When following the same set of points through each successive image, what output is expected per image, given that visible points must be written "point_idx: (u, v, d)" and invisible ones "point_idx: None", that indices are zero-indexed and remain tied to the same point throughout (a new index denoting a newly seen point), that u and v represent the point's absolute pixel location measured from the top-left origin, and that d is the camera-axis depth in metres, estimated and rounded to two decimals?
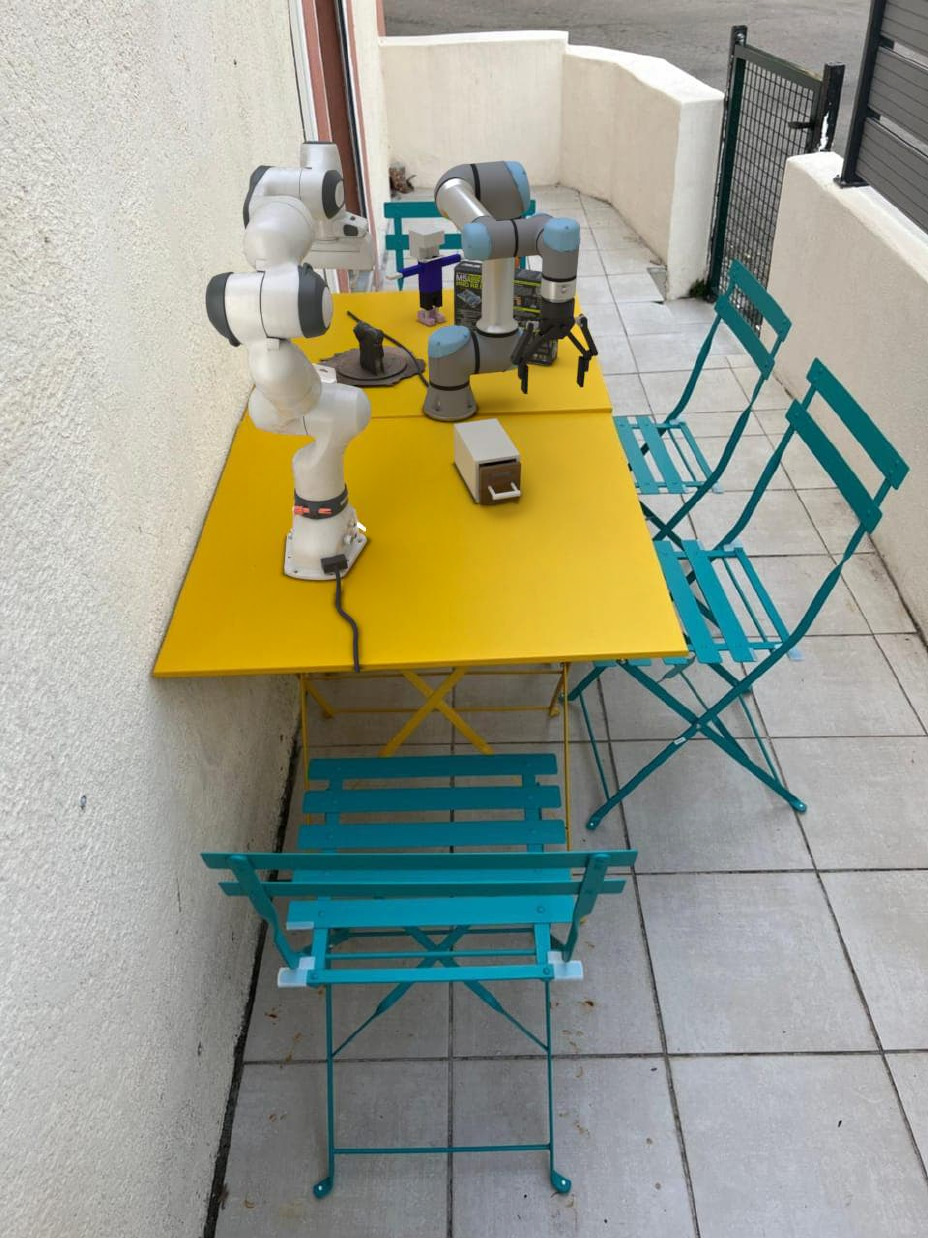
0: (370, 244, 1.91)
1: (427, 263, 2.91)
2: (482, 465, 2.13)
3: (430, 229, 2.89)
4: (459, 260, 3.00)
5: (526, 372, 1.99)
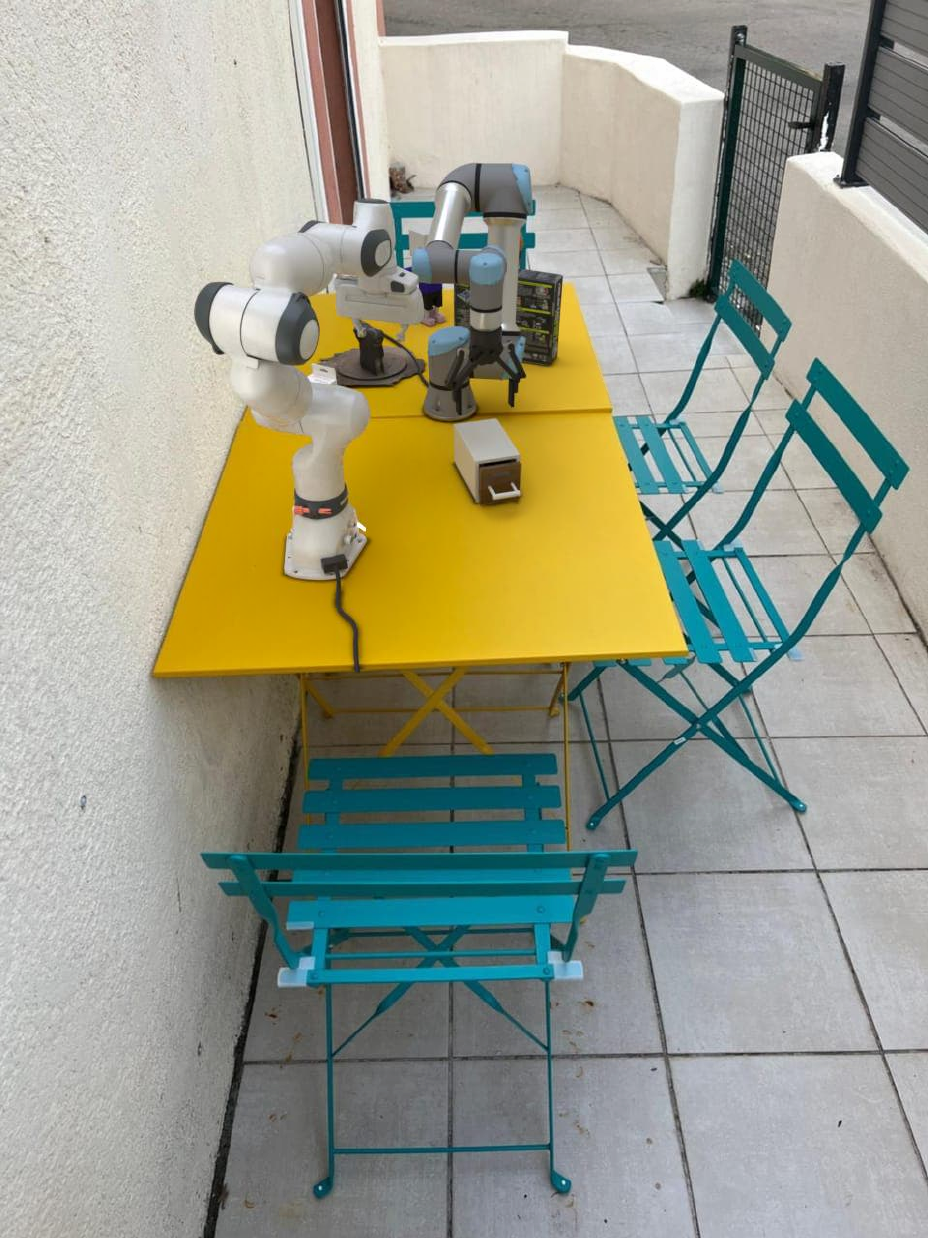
0: (417, 301, 1.92)
1: None
2: (482, 465, 2.13)
3: None
4: None
5: None
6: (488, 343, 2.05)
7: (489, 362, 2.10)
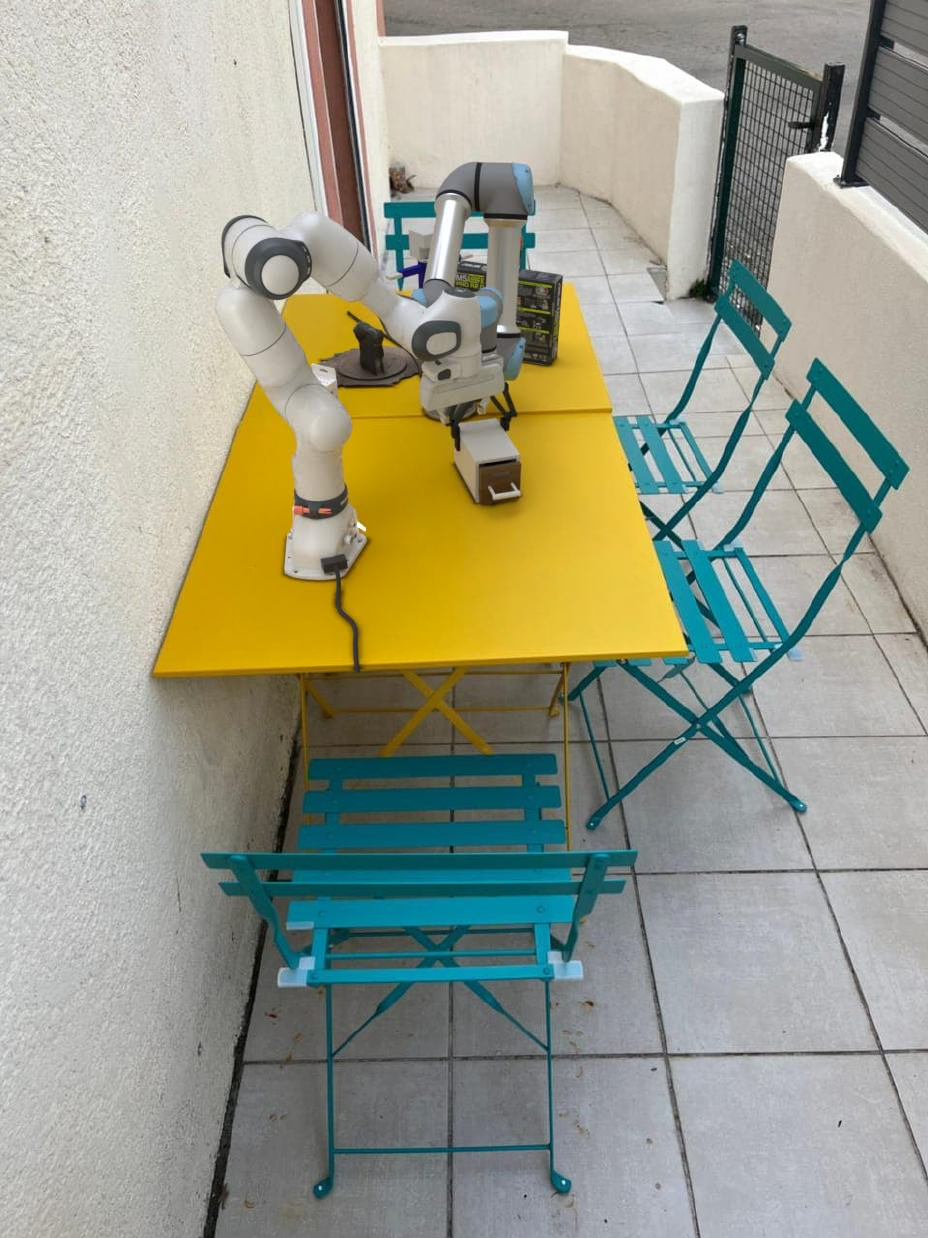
0: (421, 384, 1.97)
1: None
2: (482, 465, 2.13)
3: (430, 229, 2.89)
4: (459, 260, 3.00)
5: None
6: None
7: None
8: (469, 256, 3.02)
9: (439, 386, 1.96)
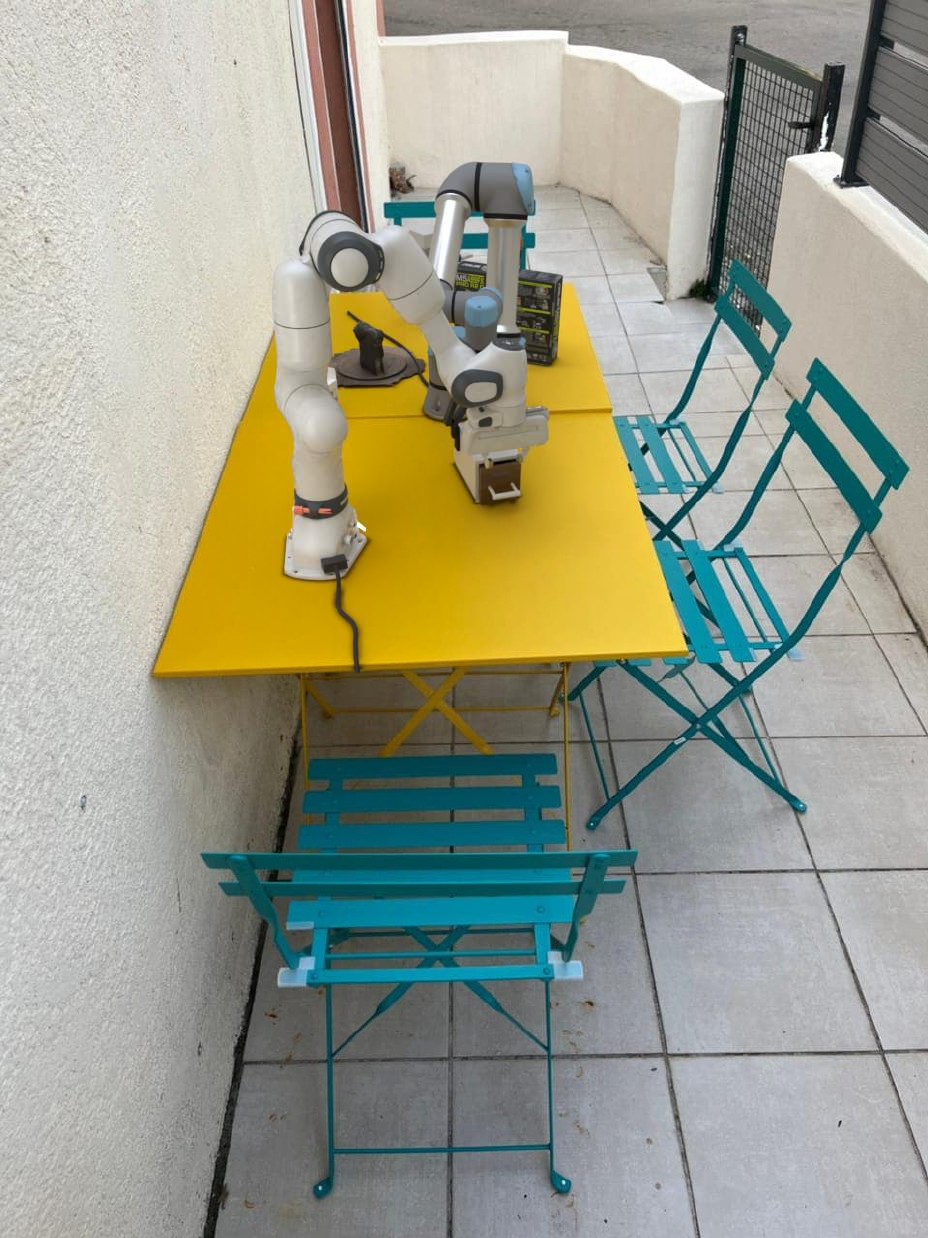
0: (464, 428, 2.01)
1: None
2: (482, 465, 2.13)
3: (430, 229, 2.89)
4: (459, 260, 3.00)
5: None
6: None
7: None
8: (469, 256, 3.02)
9: (480, 432, 1.99)
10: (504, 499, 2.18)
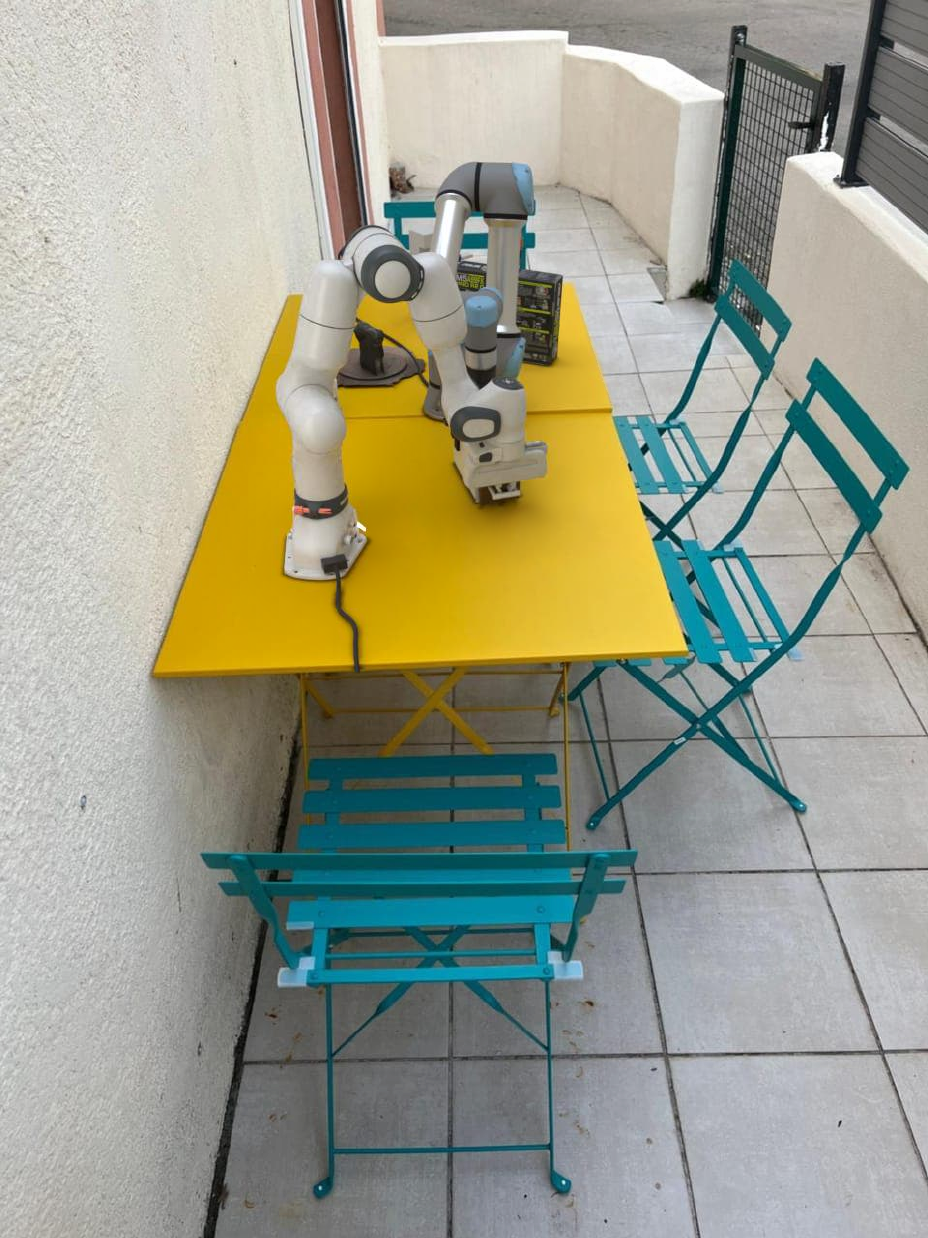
0: (464, 463, 2.06)
1: None
2: None
3: (430, 229, 2.89)
4: (459, 260, 3.00)
5: None
6: (482, 382, 2.11)
7: None
8: (469, 256, 3.02)
9: (481, 467, 2.04)
10: (504, 499, 2.18)
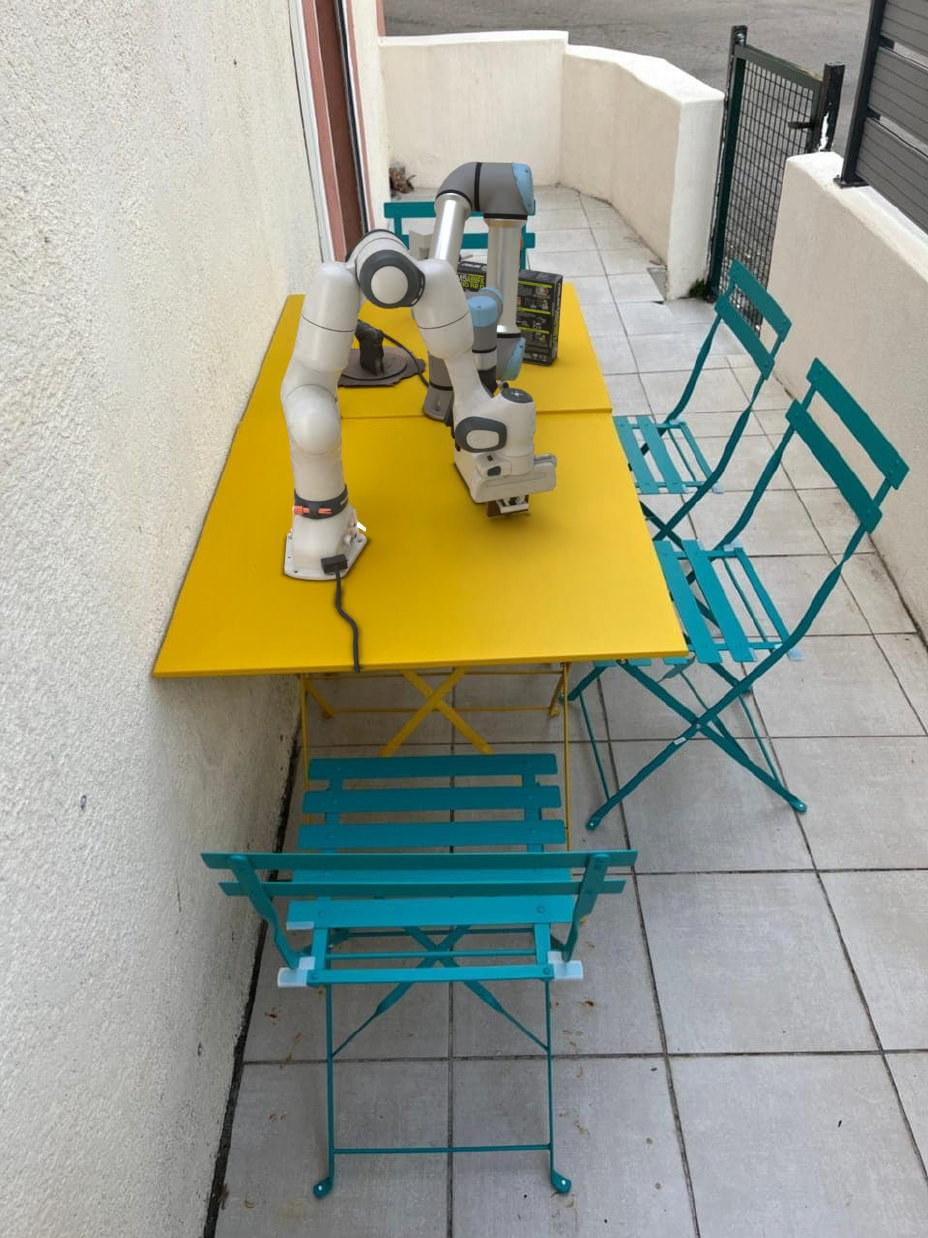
0: (472, 476, 2.01)
1: None
2: None
3: (430, 229, 2.89)
4: (459, 260, 3.00)
5: None
6: (483, 382, 2.11)
7: None
8: (469, 256, 3.02)
9: (489, 481, 2.00)
10: (512, 512, 2.13)
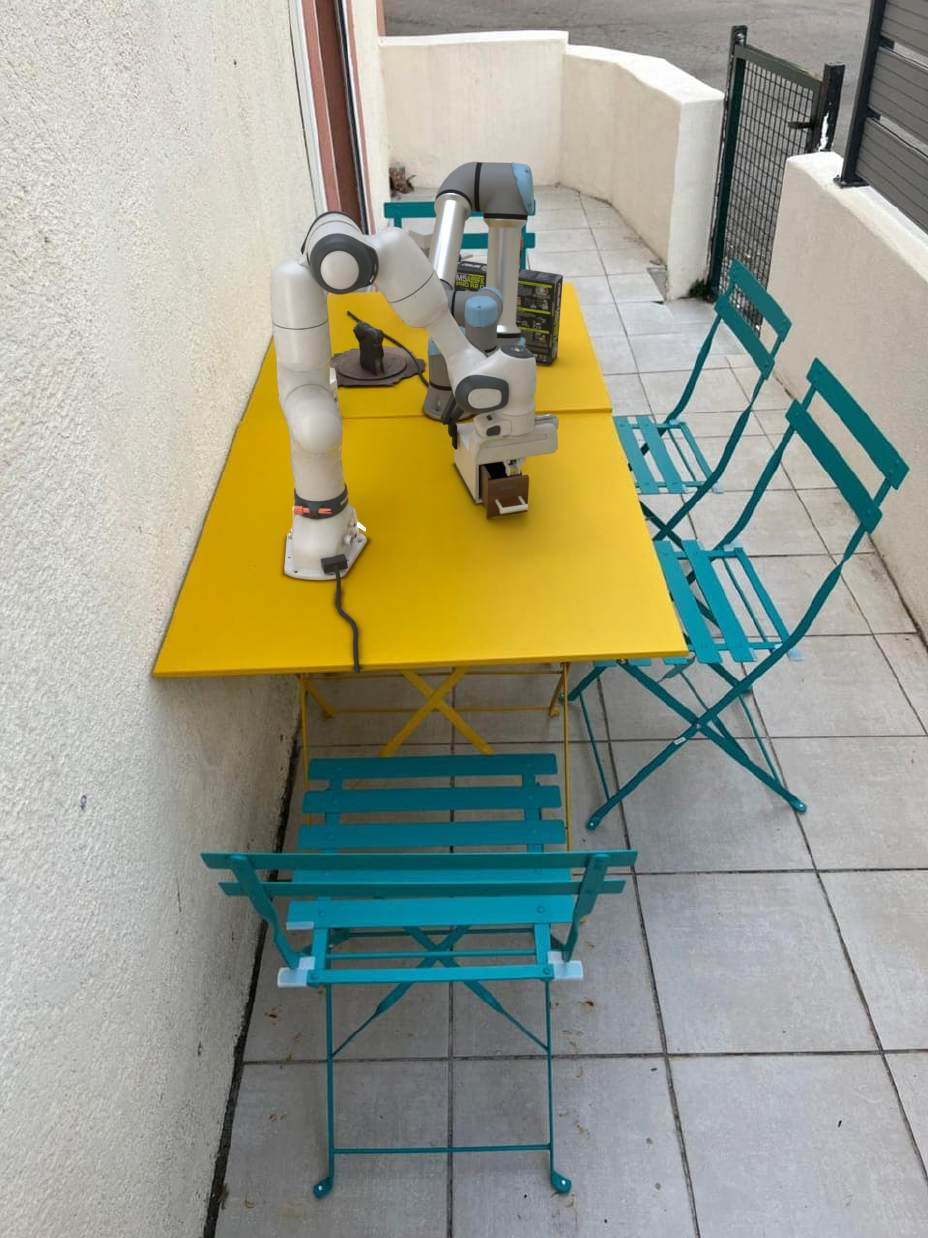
0: (471, 437, 1.96)
1: None
2: (489, 478, 2.08)
3: (430, 229, 2.89)
4: (459, 260, 3.00)
5: None
6: None
7: None
8: (469, 256, 3.02)
9: (488, 441, 1.94)
10: (511, 513, 2.13)
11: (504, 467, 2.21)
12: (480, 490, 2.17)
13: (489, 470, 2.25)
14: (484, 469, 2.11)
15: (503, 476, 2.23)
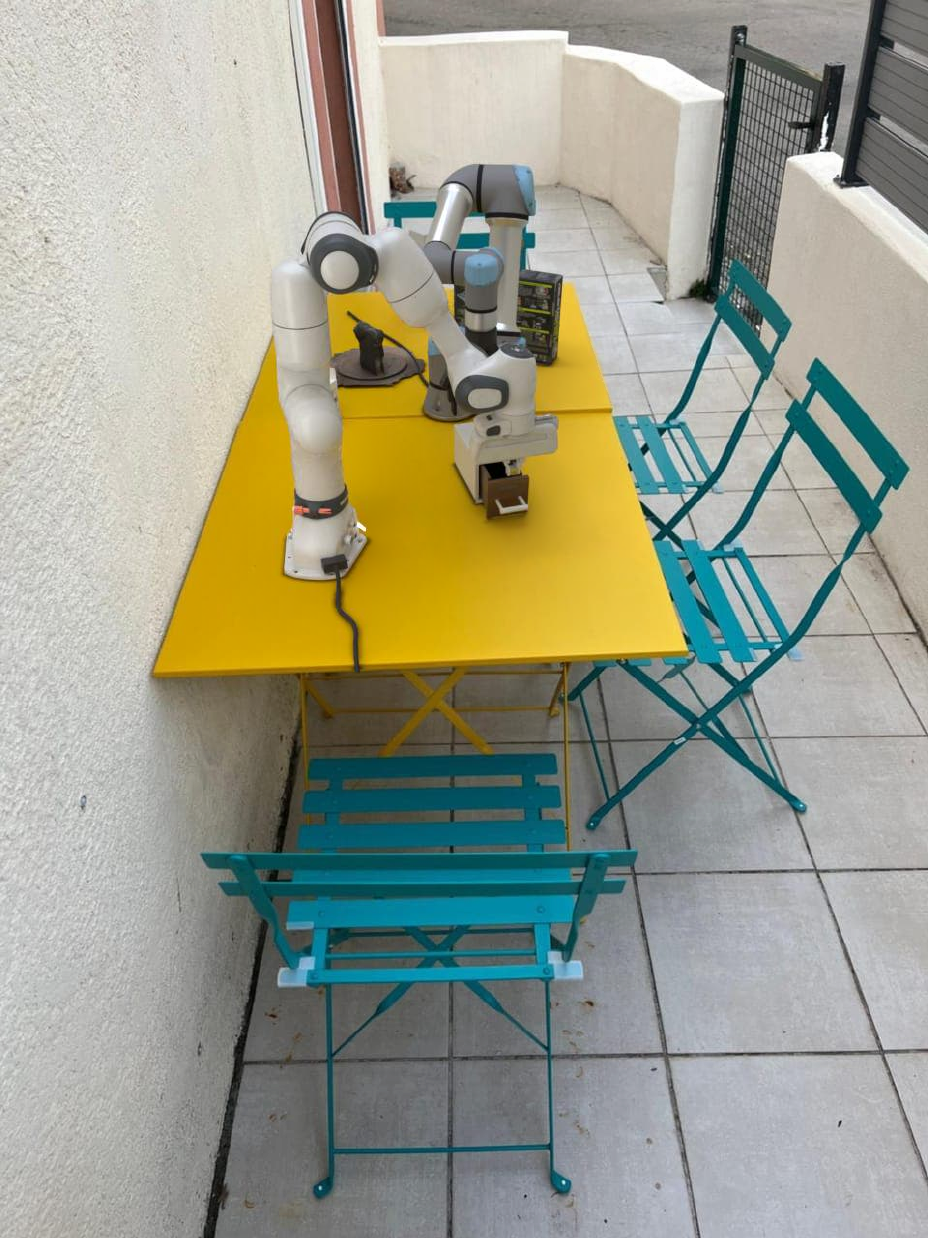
0: (471, 437, 1.96)
1: None
2: (489, 478, 2.08)
3: None
4: None
5: None
6: (483, 344, 2.05)
7: None
8: None
9: (488, 441, 1.94)
10: (511, 513, 2.13)
11: (504, 467, 2.21)
12: (480, 490, 2.17)
13: (489, 470, 2.25)
14: (484, 469, 2.11)
15: (503, 476, 2.23)
